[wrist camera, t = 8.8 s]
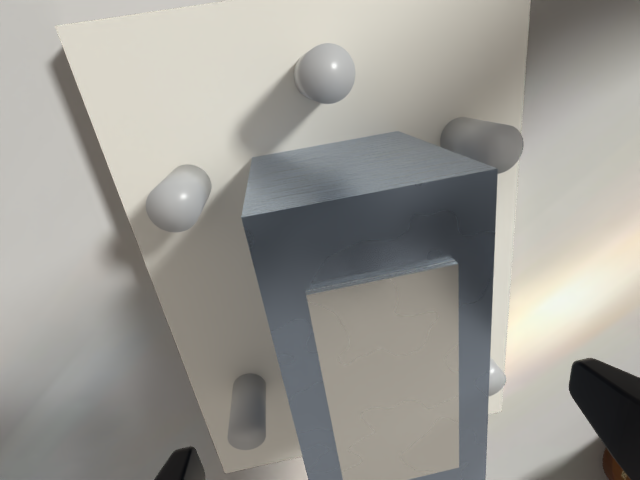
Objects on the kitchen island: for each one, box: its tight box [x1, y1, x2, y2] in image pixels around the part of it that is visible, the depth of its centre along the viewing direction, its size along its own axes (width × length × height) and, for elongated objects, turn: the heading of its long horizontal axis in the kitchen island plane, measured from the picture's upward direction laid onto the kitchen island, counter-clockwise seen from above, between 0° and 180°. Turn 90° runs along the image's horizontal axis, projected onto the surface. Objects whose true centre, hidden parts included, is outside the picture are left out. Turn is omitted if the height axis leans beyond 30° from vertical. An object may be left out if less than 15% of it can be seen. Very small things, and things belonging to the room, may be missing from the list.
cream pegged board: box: [55, 0, 531, 474], centre depth 14 cm, size 14×19×4 cm
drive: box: [241, 131, 498, 480], centre depth 12 cm, size 5×10×6 cm, turn 9°
